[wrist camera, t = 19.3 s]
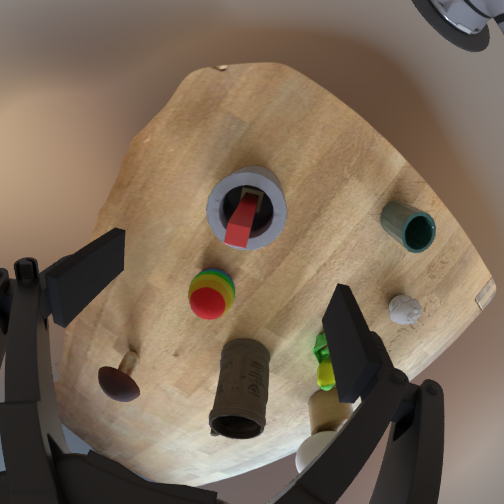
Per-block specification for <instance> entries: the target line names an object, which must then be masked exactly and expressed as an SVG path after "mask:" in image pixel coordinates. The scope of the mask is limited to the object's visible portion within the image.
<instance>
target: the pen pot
mask: <svg viewBox="0 0 504 504" xmlns="http://www.w3.org/2000/svg"><path fill="white" fill-rule="evenodd" d="M381 224H382V227H383V229H384V230H385V231H386V232H387V233H388V234H389V235H390V236H391V237H392V238H394V239H395V240H396V241H397V242H398V243H400V244H401V245H402V246H403V247H404V248H405V249H407V250H408V251H409V252H412V253H420V252H423V251H424V250H426V249H428V247H429V246H430V245H431V244H432V242H433V240H434V237H435V233H436V226H435V222H434V219H433V218H432V217H431V216H430V215H429V214H428V213H426V212H424V211H422V210H420V209H418V208H416V207H414V206H412V205H409V204H407V203H405V202H403V201H399V200H395V201H392V202H390V203H388V204H387V205H386V206H385V208H384V209H383V211H382V214H381Z"/></svg>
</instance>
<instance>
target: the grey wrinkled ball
mask: <svg viewBox="0 0 504 504" xmlns="http://www.w3.org/2000/svg"><path fill="white" fill-rule="evenodd" d="M389 311H390V318H391V320H392V321H393V322H395V323H399V324H414V323H416V321H417V318H419V317H420V315H421V314H422V307H421V305H420V304H419V302H418V301H417V300H415V299H412V297H410V296H406V295H398V296H396V297H394V298H393V299H392V300H391V302H390V305H389Z"/></svg>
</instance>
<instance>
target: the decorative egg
mask: <svg viewBox="0 0 504 504" xmlns="http://www.w3.org/2000/svg"><path fill="white" fill-rule="evenodd" d="M234 298H235V287H234V283H233V281H232V279H231V278H230V277H229V275H227V274H226V273H225V272H223V271H221V270H218V269H207V270H204V271H202V272H200V273H199V274H198V275H196V276H195V278H194V279H193V280H192V282H191V284H190V287H189V292H188V299H189V304H190V306H191V309H192V310H193V312H194V313H195V314H196V315H197V316H199V317H201V318H203V319H208V320H212V319H216V318H219V317H221V316H222V315H224V314H225V313H226V312H227V311H228V310H229V309H230V308H231V306H232V304H233V302H234Z"/></svg>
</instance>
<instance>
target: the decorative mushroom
mask: <svg viewBox="0 0 504 504" xmlns="http://www.w3.org/2000/svg"><path fill="white" fill-rule="evenodd" d="M139 363H140V357H139V356H138V355H137V354H136V353H135V352H131V351H130V352H128V353H126V355H125V356H124V358H123V359H122V361H121V363H120V365H119V368H118V369H115V368H113V367H108V366H104V367H101V368H100V369H99V372H98V379H99V384H100V386H101V388H102V390H103V391H104V393H105V394H106V395H107V396H109V397H110V398H112V399H114V400H116V401H121V402H129V401H132V400H134V399H136V398H137V397H139V395H140V390H139V387H138V386H137V384H136V383H135V381H134V380H133V379H132V378H131V376H132V375H133V373H134V372H135V370H136V369H137V367H138V365H139Z"/></svg>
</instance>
